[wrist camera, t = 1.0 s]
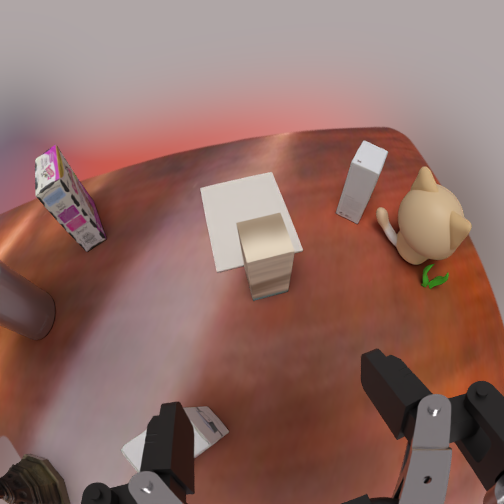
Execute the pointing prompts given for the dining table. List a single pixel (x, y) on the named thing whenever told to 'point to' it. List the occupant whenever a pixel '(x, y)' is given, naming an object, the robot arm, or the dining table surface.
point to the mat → (241, 214)
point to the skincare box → (361, 181)
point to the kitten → (427, 224)
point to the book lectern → (33, 483)
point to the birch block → (266, 255)
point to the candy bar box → (67, 199)
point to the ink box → (205, 435)
